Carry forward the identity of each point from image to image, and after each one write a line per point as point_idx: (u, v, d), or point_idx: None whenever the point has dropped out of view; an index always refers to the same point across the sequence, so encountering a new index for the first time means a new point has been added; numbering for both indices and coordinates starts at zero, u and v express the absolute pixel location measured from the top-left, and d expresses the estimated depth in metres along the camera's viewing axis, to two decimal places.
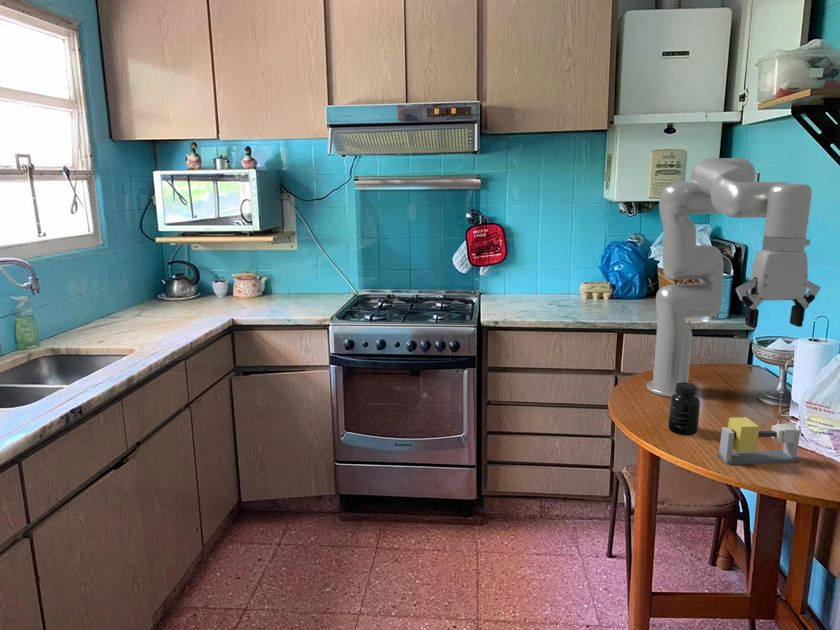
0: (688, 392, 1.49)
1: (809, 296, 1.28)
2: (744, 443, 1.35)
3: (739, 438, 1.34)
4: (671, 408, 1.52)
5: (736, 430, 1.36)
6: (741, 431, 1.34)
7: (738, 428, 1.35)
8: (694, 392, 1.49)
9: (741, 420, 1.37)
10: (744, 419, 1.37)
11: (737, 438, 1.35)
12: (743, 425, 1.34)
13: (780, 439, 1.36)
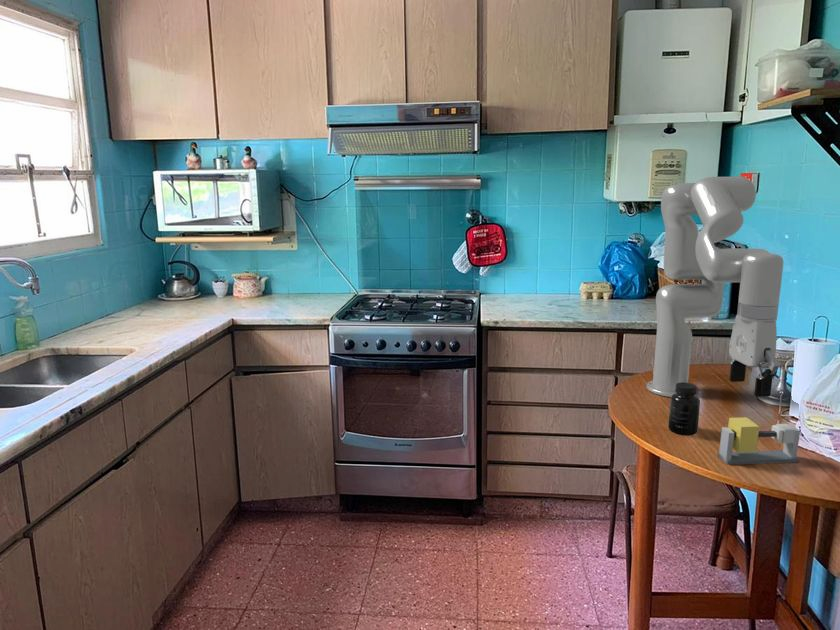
0: (688, 392, 1.49)
1: None
2: (744, 443, 1.35)
3: (739, 438, 1.34)
4: (671, 408, 1.52)
5: (736, 430, 1.36)
6: (741, 431, 1.34)
7: (738, 428, 1.35)
8: (694, 392, 1.49)
9: (741, 420, 1.37)
10: (744, 419, 1.37)
11: (737, 438, 1.35)
12: (743, 425, 1.34)
13: (780, 439, 1.36)
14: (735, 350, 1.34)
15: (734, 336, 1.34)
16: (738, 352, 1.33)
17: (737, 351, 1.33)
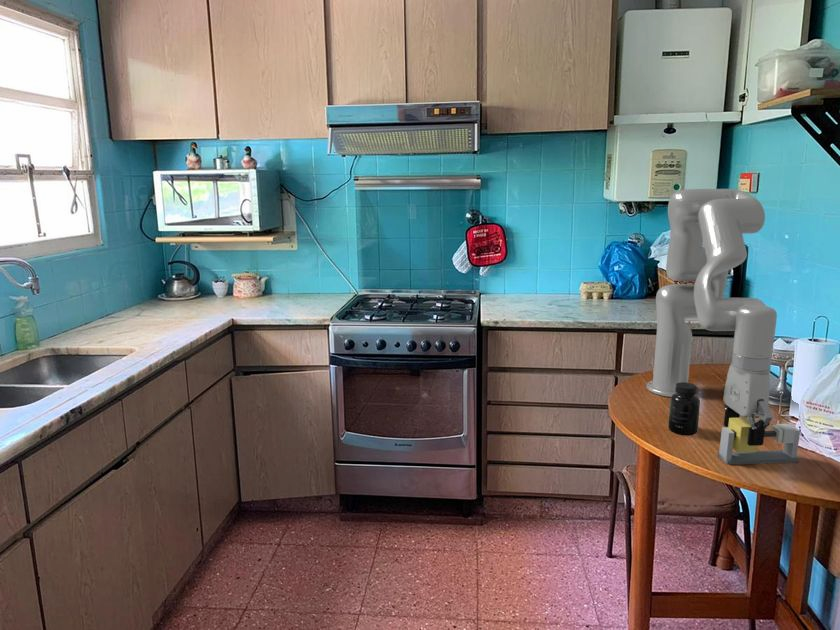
0: (688, 392, 1.49)
1: None
2: (744, 443, 1.35)
3: (739, 438, 1.34)
4: (671, 408, 1.52)
5: (736, 430, 1.36)
6: (741, 431, 1.34)
7: (738, 428, 1.35)
8: (694, 392, 1.49)
9: (741, 420, 1.37)
10: (744, 419, 1.37)
11: (737, 438, 1.35)
12: (743, 425, 1.34)
13: (780, 439, 1.36)
14: (729, 398, 1.37)
15: (728, 384, 1.37)
16: (732, 400, 1.35)
17: (731, 399, 1.36)
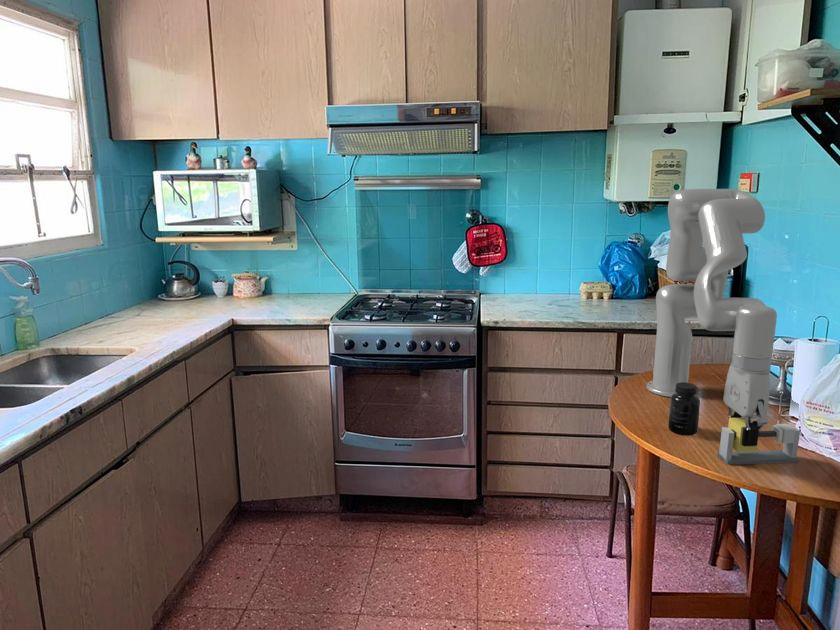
0: (688, 392, 1.49)
1: None
2: None
3: (739, 438, 1.34)
4: (671, 408, 1.52)
5: (736, 430, 1.36)
6: (741, 431, 1.34)
7: (738, 428, 1.35)
8: (694, 392, 1.49)
9: (741, 420, 1.37)
10: (744, 419, 1.37)
11: (737, 438, 1.35)
12: (743, 425, 1.34)
13: (780, 439, 1.36)
14: (729, 398, 1.37)
15: (728, 384, 1.37)
16: (732, 400, 1.35)
17: (731, 399, 1.36)
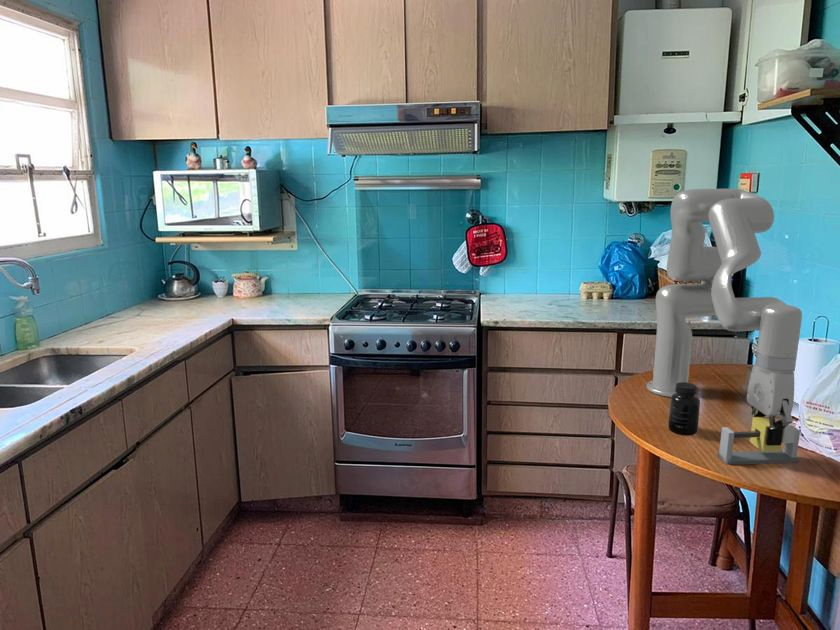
0: (688, 392, 1.49)
1: None
2: None
3: (764, 438, 1.35)
4: (671, 408, 1.52)
5: (760, 429, 1.36)
6: (765, 430, 1.34)
7: (762, 427, 1.35)
8: (694, 392, 1.49)
9: (765, 419, 1.37)
10: (767, 419, 1.37)
11: (761, 437, 1.35)
12: (767, 424, 1.35)
13: None
14: (753, 397, 1.37)
15: (752, 383, 1.37)
16: (756, 399, 1.36)
17: (755, 399, 1.36)
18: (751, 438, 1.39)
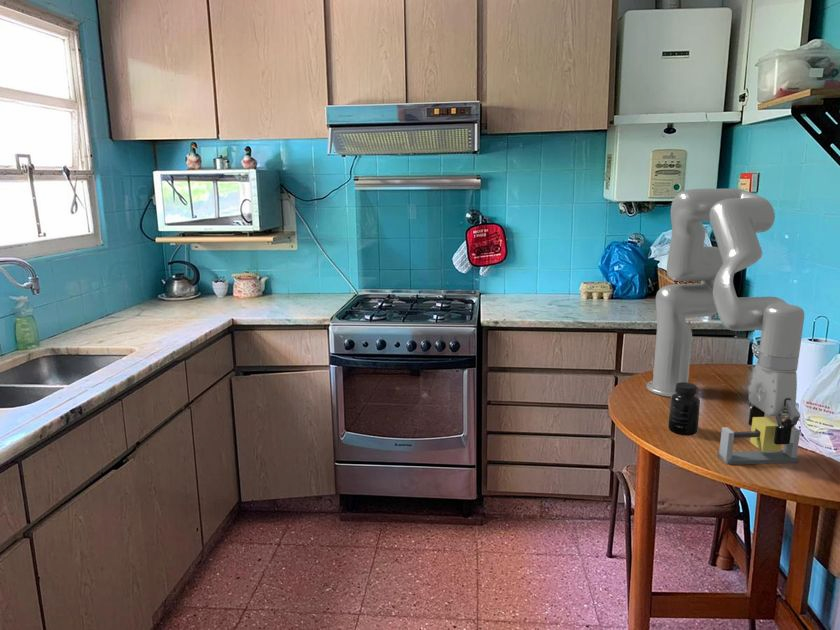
0: (688, 392, 1.49)
1: None
2: (768, 442, 1.35)
3: (764, 438, 1.35)
4: (671, 408, 1.52)
5: (760, 429, 1.36)
6: (765, 430, 1.34)
7: (762, 427, 1.35)
8: (694, 392, 1.49)
9: (765, 419, 1.37)
10: (767, 419, 1.37)
11: (761, 437, 1.35)
12: (767, 424, 1.35)
13: None
14: (755, 397, 1.37)
15: (754, 383, 1.37)
16: (758, 399, 1.36)
17: (757, 398, 1.36)
18: (751, 438, 1.39)
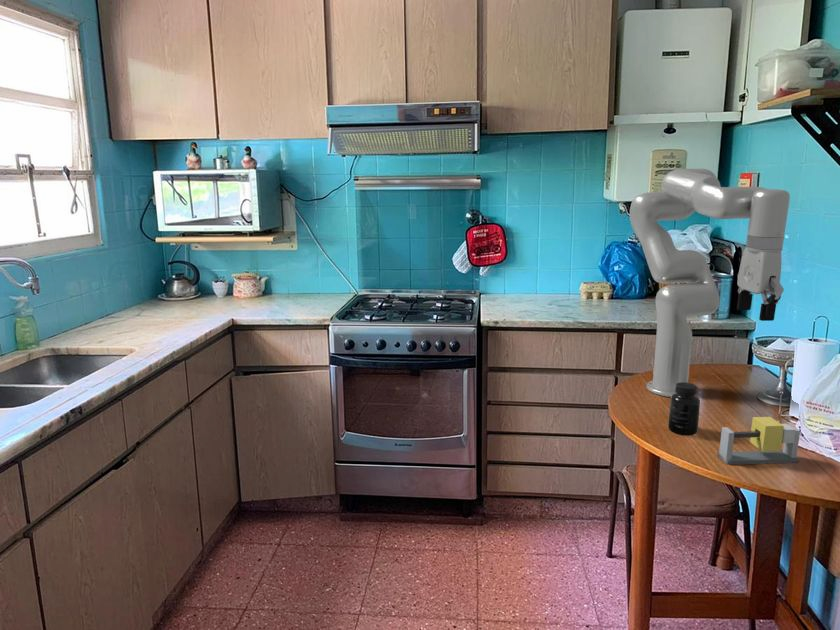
0: (688, 392, 1.49)
1: None
2: (768, 442, 1.35)
3: (764, 438, 1.35)
4: (671, 408, 1.52)
5: (760, 429, 1.36)
6: (765, 430, 1.34)
7: (762, 427, 1.35)
8: (694, 392, 1.49)
9: (765, 419, 1.37)
10: (767, 419, 1.37)
11: (761, 437, 1.35)
12: (767, 424, 1.35)
13: None
14: (743, 280, 1.46)
15: (742, 267, 1.47)
16: (746, 281, 1.45)
17: (745, 280, 1.46)
18: (751, 438, 1.39)
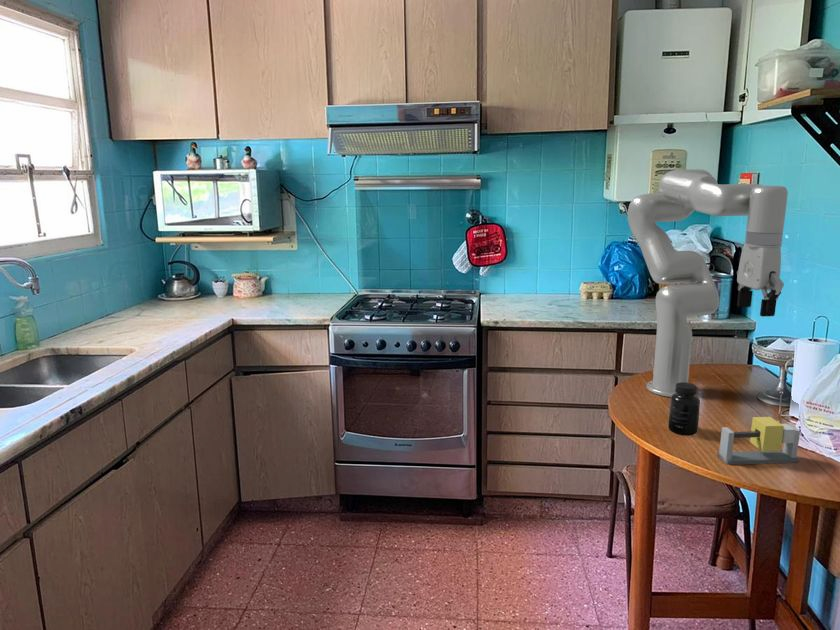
0: (688, 392, 1.49)
1: None
2: (768, 442, 1.35)
3: (764, 438, 1.35)
4: (671, 408, 1.52)
5: (760, 429, 1.36)
6: (765, 430, 1.34)
7: (762, 427, 1.35)
8: (694, 392, 1.49)
9: (765, 419, 1.37)
10: (767, 419, 1.37)
11: (761, 437, 1.35)
12: (767, 424, 1.35)
13: None
14: (743, 276, 1.47)
15: (742, 264, 1.47)
16: (745, 277, 1.46)
17: (744, 277, 1.46)
18: (751, 438, 1.39)
